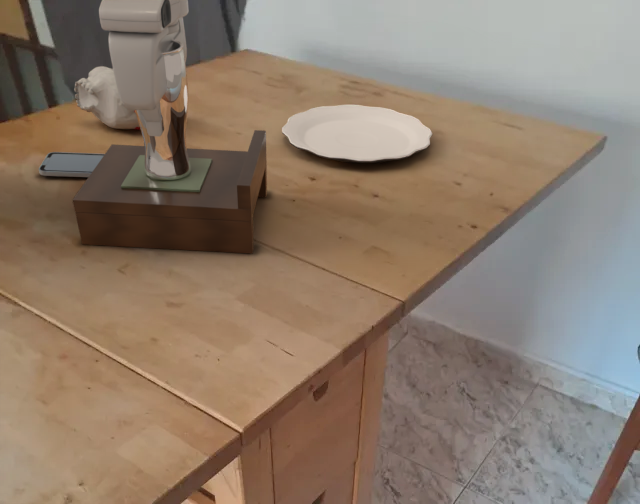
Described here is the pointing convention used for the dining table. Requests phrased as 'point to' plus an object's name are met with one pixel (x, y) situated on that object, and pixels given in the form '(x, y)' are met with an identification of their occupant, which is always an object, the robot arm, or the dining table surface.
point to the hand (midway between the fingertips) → (162, 123)
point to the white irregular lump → (104, 99)
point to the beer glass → (169, 123)
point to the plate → (357, 133)
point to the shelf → (174, 200)
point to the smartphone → (69, 164)
